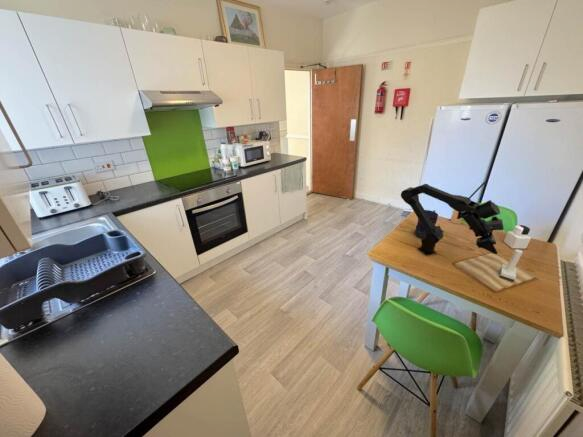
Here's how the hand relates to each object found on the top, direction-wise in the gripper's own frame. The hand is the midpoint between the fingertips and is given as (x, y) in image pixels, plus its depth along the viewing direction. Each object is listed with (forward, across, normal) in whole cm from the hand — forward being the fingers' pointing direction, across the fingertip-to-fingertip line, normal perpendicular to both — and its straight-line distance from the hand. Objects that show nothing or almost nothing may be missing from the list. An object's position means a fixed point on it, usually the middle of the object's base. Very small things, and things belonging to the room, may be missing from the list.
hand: (495, 248), depth 110 cm
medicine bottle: (+20, +36, 0) cm, 41 cm away
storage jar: (-12, +21, +31) cm, 40 cm away
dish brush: (+14, 0, +3) cm, 14 cm away
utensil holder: (0, +51, +20) cm, 55 cm away
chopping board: (+12, +2, +7) cm, 14 cm away
